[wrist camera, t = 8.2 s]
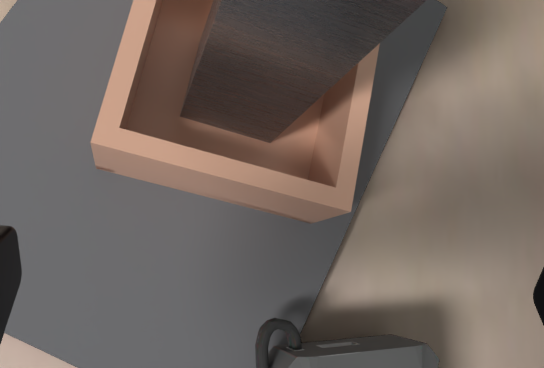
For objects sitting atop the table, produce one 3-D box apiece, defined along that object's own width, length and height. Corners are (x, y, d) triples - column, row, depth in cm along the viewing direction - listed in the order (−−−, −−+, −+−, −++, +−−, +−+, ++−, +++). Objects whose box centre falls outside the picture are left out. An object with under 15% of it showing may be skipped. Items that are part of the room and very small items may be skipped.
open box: (310, 223, 22) (351, 211, 18) (96, 168, 20) (90, 142, 16) (346, 36, 24) (388, -9, 20) (154, -31, 22) (162, -96, 18)
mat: (245, 445, 20) (248, 448, 20) (-167, 249, 17) (-173, 248, 17) (442, 11, 26) (447, 7, 26) (160, -180, 24) (160, -188, 23)
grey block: (270, 143, 21) (527, -92, 8) (179, 116, 21) (293, -199, 7) (286, 68, 22) (545, -261, 9) (199, 40, 21) (337, -375, 8)
